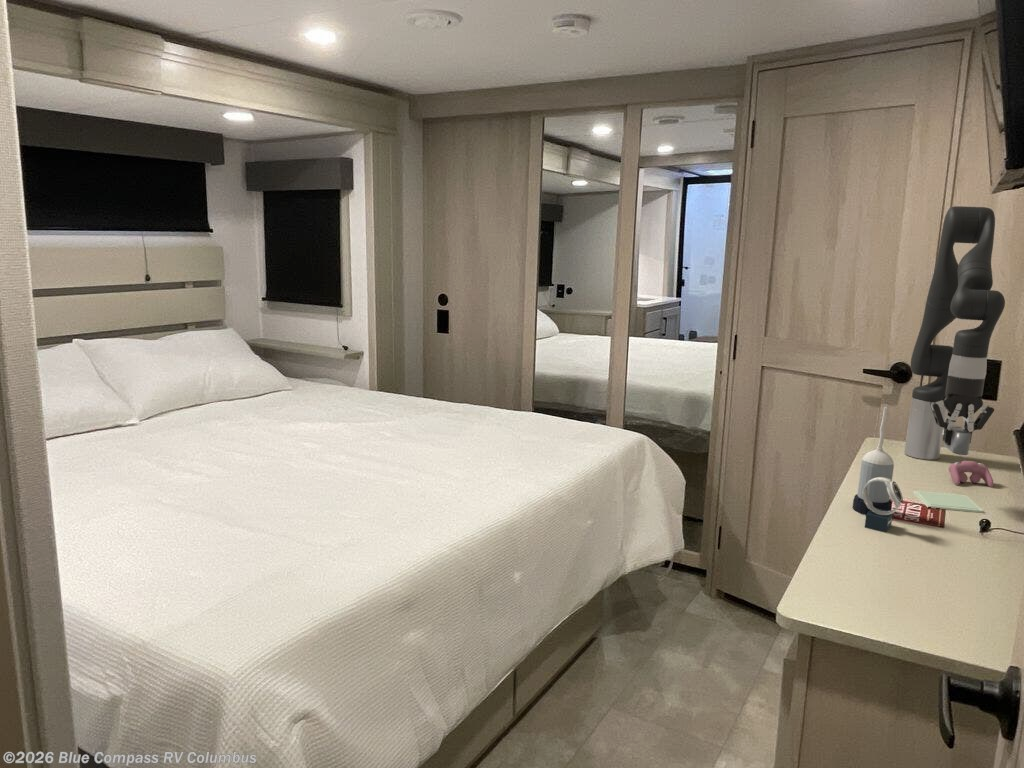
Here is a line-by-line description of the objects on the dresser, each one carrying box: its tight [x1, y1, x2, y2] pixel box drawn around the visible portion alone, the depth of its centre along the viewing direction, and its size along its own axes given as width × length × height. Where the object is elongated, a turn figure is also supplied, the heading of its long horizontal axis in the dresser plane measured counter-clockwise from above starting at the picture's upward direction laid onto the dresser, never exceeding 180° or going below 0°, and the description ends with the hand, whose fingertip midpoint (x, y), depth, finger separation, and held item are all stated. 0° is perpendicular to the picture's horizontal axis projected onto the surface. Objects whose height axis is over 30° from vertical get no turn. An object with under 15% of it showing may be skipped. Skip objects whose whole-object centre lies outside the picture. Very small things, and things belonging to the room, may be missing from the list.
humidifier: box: [852, 406, 895, 516], centre depth 171 cm, size 8×8×25 cm
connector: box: [943, 424, 972, 456], centre depth 178 cm, size 11×3×5 cm, turn 168°
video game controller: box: [948, 460, 994, 488], centre depth 195 cm, size 10×5×7 cm, turn 85°
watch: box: [862, 477, 904, 533], centre depth 163 cm, size 6×8×11 cm
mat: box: [913, 490, 985, 514], centre depth 180 cm, size 11×12×1 cm
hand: (955, 444), depth 177 cm, fingers closed on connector, 3 cm apart
